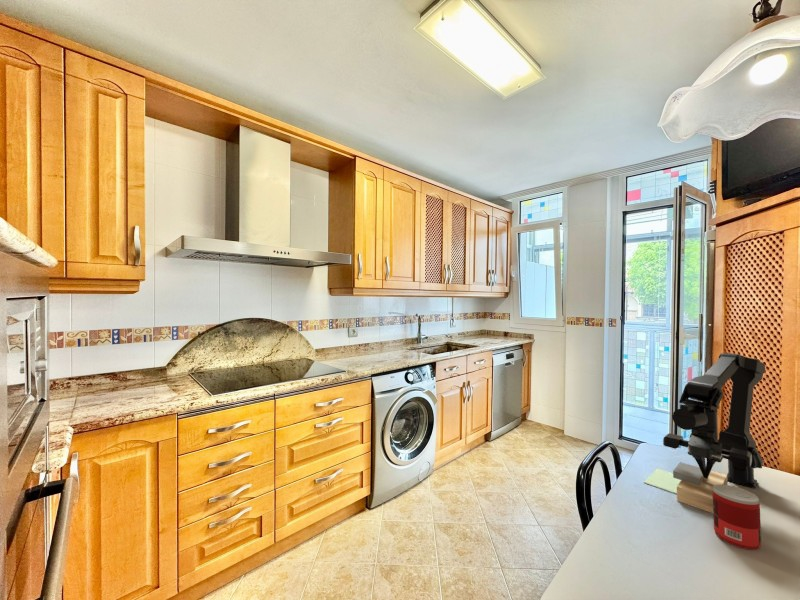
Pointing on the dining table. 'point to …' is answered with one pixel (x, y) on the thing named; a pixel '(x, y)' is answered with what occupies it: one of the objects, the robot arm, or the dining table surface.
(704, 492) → the deck
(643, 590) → the dining table surface
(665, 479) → the mat
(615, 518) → the dining table surface
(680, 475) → the pale grey box
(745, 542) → the canned food
